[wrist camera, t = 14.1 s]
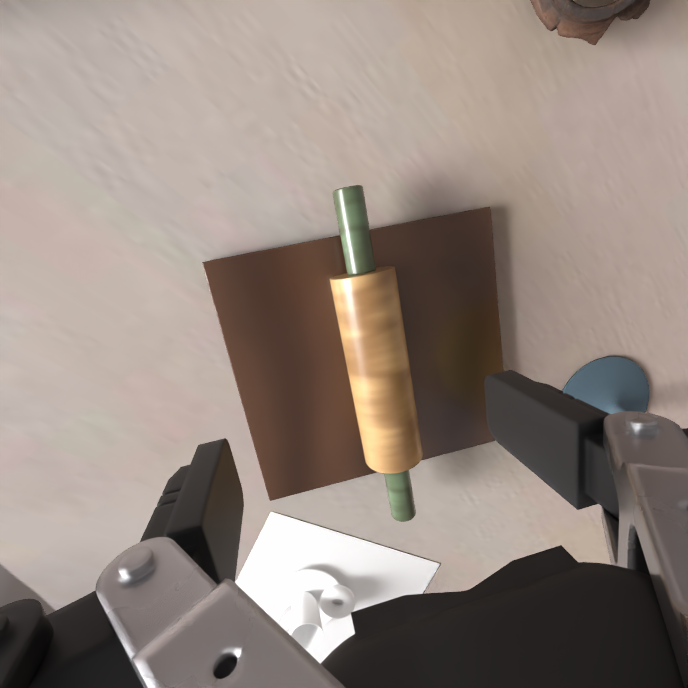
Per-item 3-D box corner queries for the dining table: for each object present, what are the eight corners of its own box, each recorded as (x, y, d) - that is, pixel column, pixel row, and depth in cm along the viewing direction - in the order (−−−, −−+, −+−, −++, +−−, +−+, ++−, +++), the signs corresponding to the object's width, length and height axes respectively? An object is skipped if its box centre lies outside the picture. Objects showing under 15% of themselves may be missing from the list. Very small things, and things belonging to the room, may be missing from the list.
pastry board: (270, 493, 35) (269, 501, 34) (204, 261, 29) (201, 262, 28) (501, 431, 38) (508, 437, 37) (483, 208, 32) (490, 206, 31)
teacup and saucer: (361, 578, 39) (370, 613, 35) (329, 635, 40) (333, 676, 36) (285, 556, 37) (285, 592, 33) (253, 618, 38) (250, 659, 34)
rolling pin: (371, 502, 36) (384, 540, 31) (310, 200, 28) (316, 189, 24) (419, 489, 36) (440, 524, 31) (372, 188, 29) (390, 175, 24)
